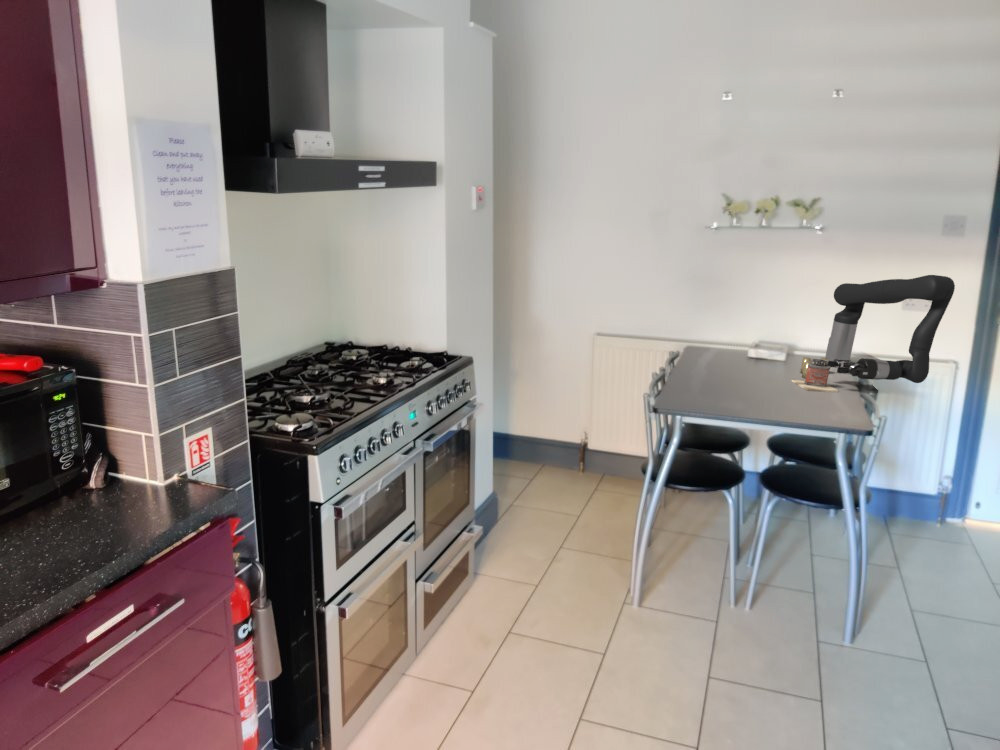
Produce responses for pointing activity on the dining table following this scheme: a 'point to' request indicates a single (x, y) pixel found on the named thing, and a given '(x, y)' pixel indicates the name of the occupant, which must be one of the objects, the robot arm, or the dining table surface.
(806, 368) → the spacer posts
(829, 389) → the pad
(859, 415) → the dining table surface
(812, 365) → the lighter
